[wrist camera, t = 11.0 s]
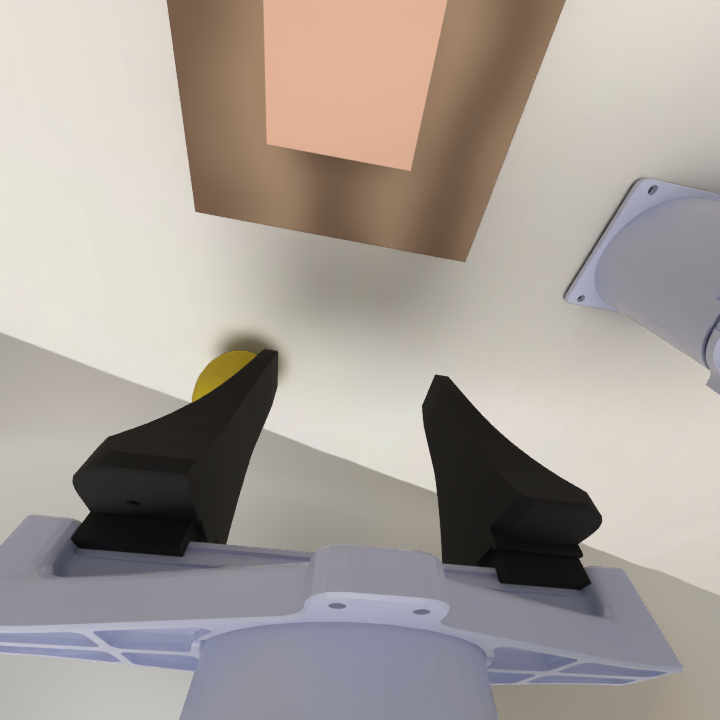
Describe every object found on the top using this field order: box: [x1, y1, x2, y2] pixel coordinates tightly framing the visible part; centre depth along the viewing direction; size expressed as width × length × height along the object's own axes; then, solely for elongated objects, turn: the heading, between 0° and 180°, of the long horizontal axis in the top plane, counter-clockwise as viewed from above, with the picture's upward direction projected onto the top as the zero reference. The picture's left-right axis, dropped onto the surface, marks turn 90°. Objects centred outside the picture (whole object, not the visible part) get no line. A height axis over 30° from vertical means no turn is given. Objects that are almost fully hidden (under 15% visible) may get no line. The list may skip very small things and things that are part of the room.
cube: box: [263, 0, 447, 171], centre depth 11 cm, size 5×5×6 cm
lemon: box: [192, 350, 257, 402], centre depth 23 cm, size 6×6×8 cm
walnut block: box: [167, 0, 566, 262], centre depth 14 cm, size 16×16×2 cm
